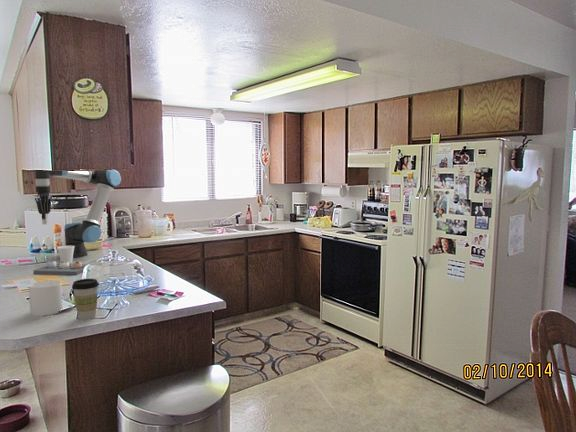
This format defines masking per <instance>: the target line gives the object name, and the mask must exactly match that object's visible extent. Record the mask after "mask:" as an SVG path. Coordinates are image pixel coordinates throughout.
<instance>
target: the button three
mask: <svg viewBox="0 0 576 432" xmlns="http://www.w3.org/2000/svg"><path fill="white" fill-rule="evenodd" d="M72 264H73V269H81V268H82V264H83V263H82V262H81V261H75V262H72Z"/></svg>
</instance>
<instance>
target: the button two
mask: <svg viewBox="0 0 576 432" xmlns="http://www.w3.org/2000/svg"><path fill="white" fill-rule="evenodd" d="M59 264H60V269H67V268H69V262H61V261H60V262H59Z"/></svg>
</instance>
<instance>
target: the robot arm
mask: <svg viewBox="0 0 576 432" xmlns="http://www.w3.org/2000/svg"><path fill="white" fill-rule="evenodd" d="M94 170H95V171H43V170H34V169H33V171H34V179H35V180H34V181H35V185H36V186H35V193H37V197H35V198H34V201H35V203H36V208H37V212H38V214H39V215H41V221H42V225H49V214H50V213H51V209H52V199H53V196H51V195H50V193H51V186H50V185H51V182H50V181H51V179H50V178H51V177H52V178H60V179H69V180H75V181H82V182H84V183H85V184H92V185H95V186H97V190H96V193H95V196H94V197H93V200H92V203H91V206H90V208H89V210H88V213H87V216H86V218H85V219H84V220H82V221H78V222H70V223H65V225H64V243H65V245H64V246H75V247H74V252H73V258H81V257H85V256H88V250H87V248H86V244H85V243H89V244H90V243H95V242H97V241H99V240H100V239H101V236H102V229H101V224H100V221H101V219H102V217H103V213H104V211H105V208H106V206H107V203H108V200H109V198H110V194H111V193H112V192H113V191H115V188H116V187H118V186H120V184H121V182H122V177H121V174H120V172H119V171H117V170H116V169H112V170H97V169H94Z"/></svg>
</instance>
